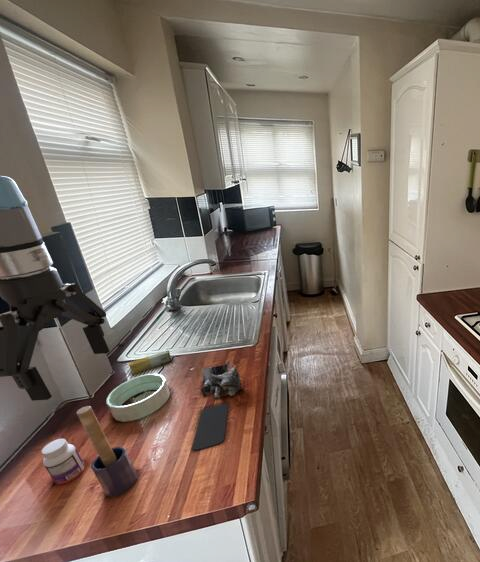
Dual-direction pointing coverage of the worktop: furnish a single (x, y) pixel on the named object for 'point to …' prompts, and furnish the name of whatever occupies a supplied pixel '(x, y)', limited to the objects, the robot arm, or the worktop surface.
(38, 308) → the robot arm
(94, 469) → the utensil pot
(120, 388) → the bowl
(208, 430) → the phone
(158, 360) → the medication box
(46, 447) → the pill bottle
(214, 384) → the grey sculpted pot
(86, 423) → the stirring paddle
